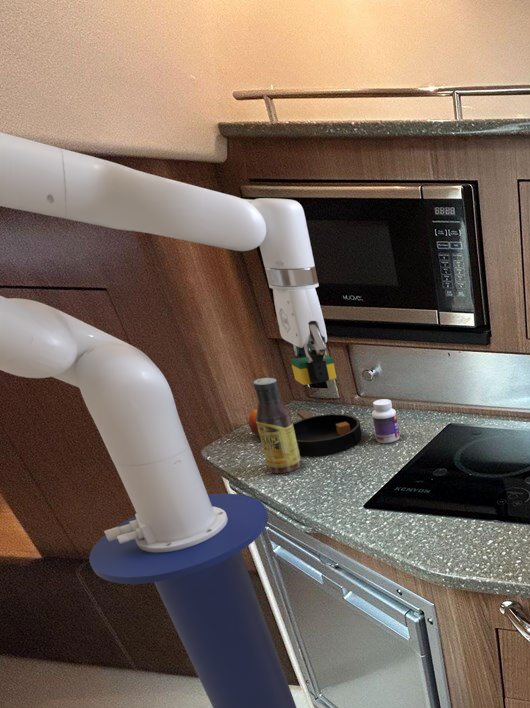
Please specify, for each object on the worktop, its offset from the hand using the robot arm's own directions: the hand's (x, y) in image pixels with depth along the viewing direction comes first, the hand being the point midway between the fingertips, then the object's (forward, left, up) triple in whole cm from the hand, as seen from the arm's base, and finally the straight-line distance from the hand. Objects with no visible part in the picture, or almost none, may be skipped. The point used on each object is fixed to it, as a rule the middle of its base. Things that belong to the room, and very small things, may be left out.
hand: (314, 377), depth 94 cm
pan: (+5, +23, -22) cm, 32 cm away
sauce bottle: (-6, +12, -22) cm, 26 cm away
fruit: (-3, +32, -22) cm, 39 cm away
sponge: (0, 0, 0) cm, 0 cm away
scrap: (+9, +20, -21) cm, 31 cm away
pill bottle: (+16, +11, -22) cm, 30 cm away
